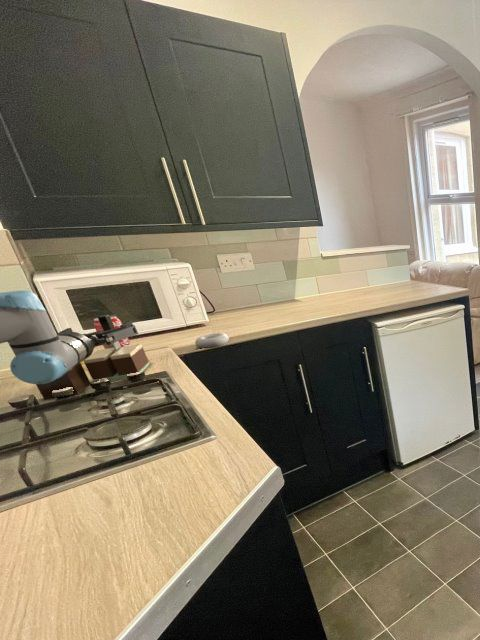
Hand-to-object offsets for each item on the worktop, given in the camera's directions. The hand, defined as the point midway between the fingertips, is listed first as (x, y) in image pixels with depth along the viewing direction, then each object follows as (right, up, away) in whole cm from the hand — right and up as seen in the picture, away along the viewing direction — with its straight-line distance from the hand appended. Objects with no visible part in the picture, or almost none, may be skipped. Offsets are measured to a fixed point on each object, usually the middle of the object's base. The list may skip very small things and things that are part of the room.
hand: (102, 328), depth 120 cm
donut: (+12, -2, +29) cm, 31 cm away
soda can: (-20, -5, +27) cm, 34 cm away
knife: (-1, -11, +8) cm, 14 cm away
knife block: (-4, -18, -5) cm, 19 cm away
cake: (+1, -13, +6) cm, 14 cm away
